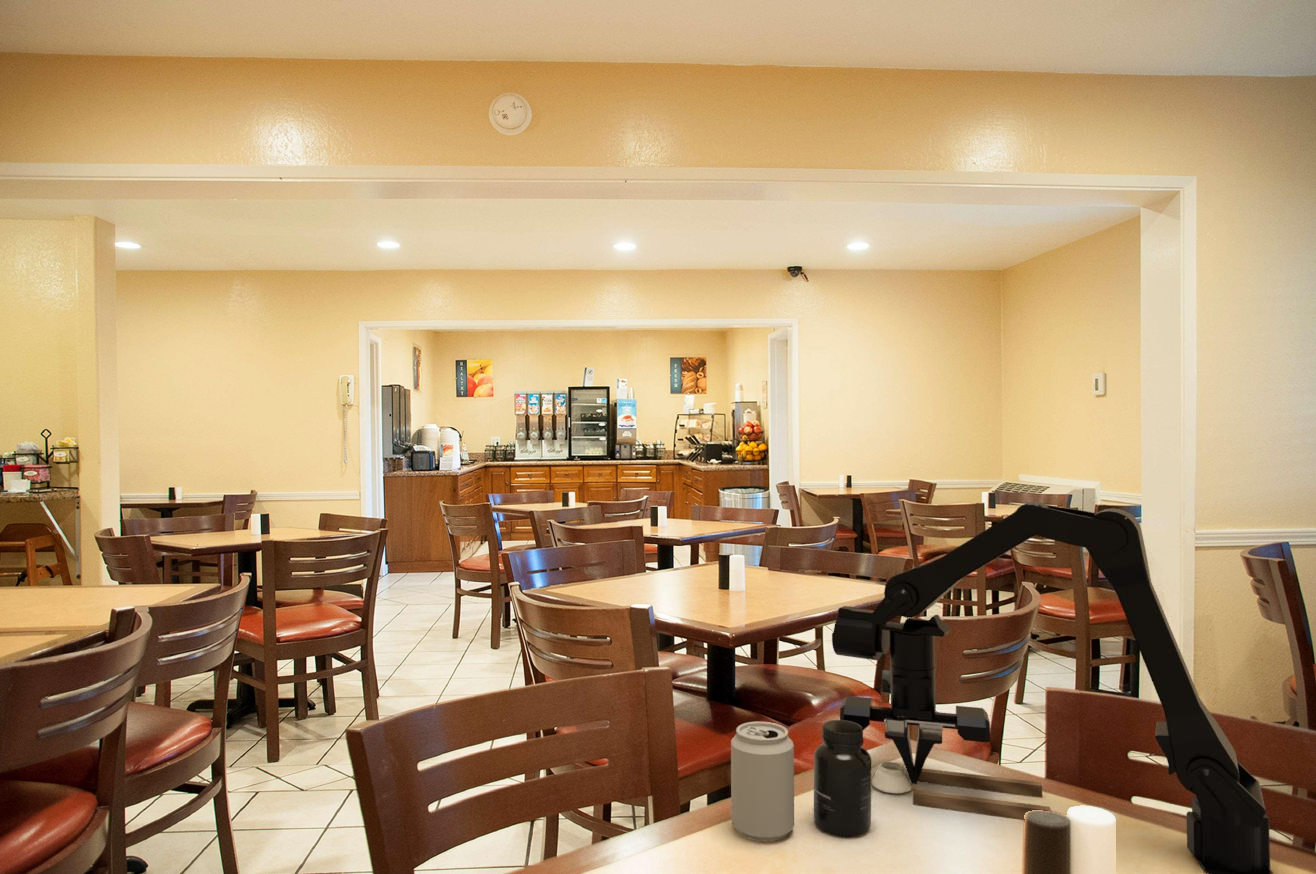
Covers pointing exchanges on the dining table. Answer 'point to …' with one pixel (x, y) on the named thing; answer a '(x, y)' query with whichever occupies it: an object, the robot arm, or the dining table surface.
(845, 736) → the supplement bottle
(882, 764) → the lidless jar
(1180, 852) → the dining table surface
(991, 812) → the chute
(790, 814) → the can
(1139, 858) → the dining table surface
